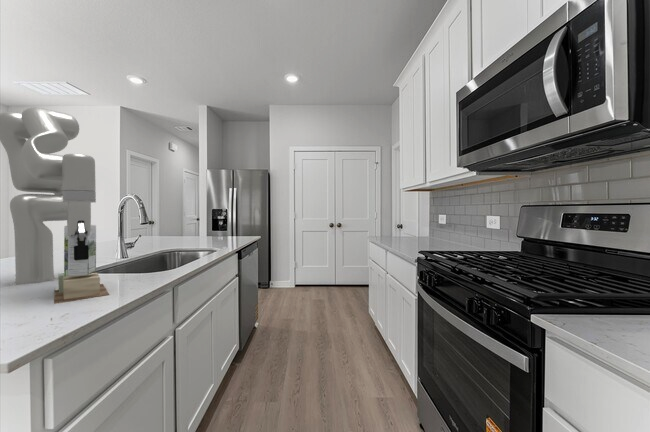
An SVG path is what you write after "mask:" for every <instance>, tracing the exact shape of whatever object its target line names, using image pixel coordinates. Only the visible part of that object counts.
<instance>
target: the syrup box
mask: <svg viewBox="0 0 650 432" xmlns="http://www.w3.org/2000/svg"><path fill="white" fill-rule="evenodd" d="M63 228H64V230H63V232H64V234H63V237H64V240H63V241H64V243H63V244H64V246H63V248H64V249H63V254H64V255H63V256H64V257H63V258H64V259H63V270H64V271H63V273H64V276H81V275H89V274H91V273H96V272H97V225H96V224H91V228H90V235H89V236H87V242H88V247H89V259H86V260H74V246H75V234H74V235H71V237H69V236H68V226H67V225H64V227H63ZM84 231H86V229H84ZM86 232H87V233H88V231H86ZM76 235H79V234H76ZM87 235H88V234H87ZM77 243H78V240H77Z"/></svg>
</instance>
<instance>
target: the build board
mask: <svg viewBox="0 0 650 432" xmlns="http://www.w3.org/2000/svg"><path fill="white" fill-rule="evenodd" d="M53 293H54V294H53V305H54V304H55V305H56V304H61V303H68V302H75V301H79V300H80V301H82V300H87V299H93V298H99V297H101V298H102V297H106V296H107V297H108V296H110V293H109V291H108V290H107V289H106V287H105V285H104V284H103V283H100V294H98V295H91V296H84V297H78V298H71V299H65V300H64V296H63V293H59V289H54V291H53Z"/></svg>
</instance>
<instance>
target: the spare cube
mask: <svg viewBox="0 0 650 432" xmlns="http://www.w3.org/2000/svg"><path fill="white" fill-rule="evenodd" d="M57 274H58V275H57V276H58V277H57V278H58V280H57V281H58V290H59V293H63V277H65V276H64V272H61V273H57Z"/></svg>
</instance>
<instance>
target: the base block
mask: <svg viewBox="0 0 650 432" xmlns="http://www.w3.org/2000/svg"><path fill="white" fill-rule="evenodd" d="M100 284H101V277H100V275H99V274H98V272H93V273H91V274H89V275H81V276H65V277H63V296H64V300H65V299H71V298H78V297H84V296H91V295H98V294H100Z"/></svg>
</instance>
